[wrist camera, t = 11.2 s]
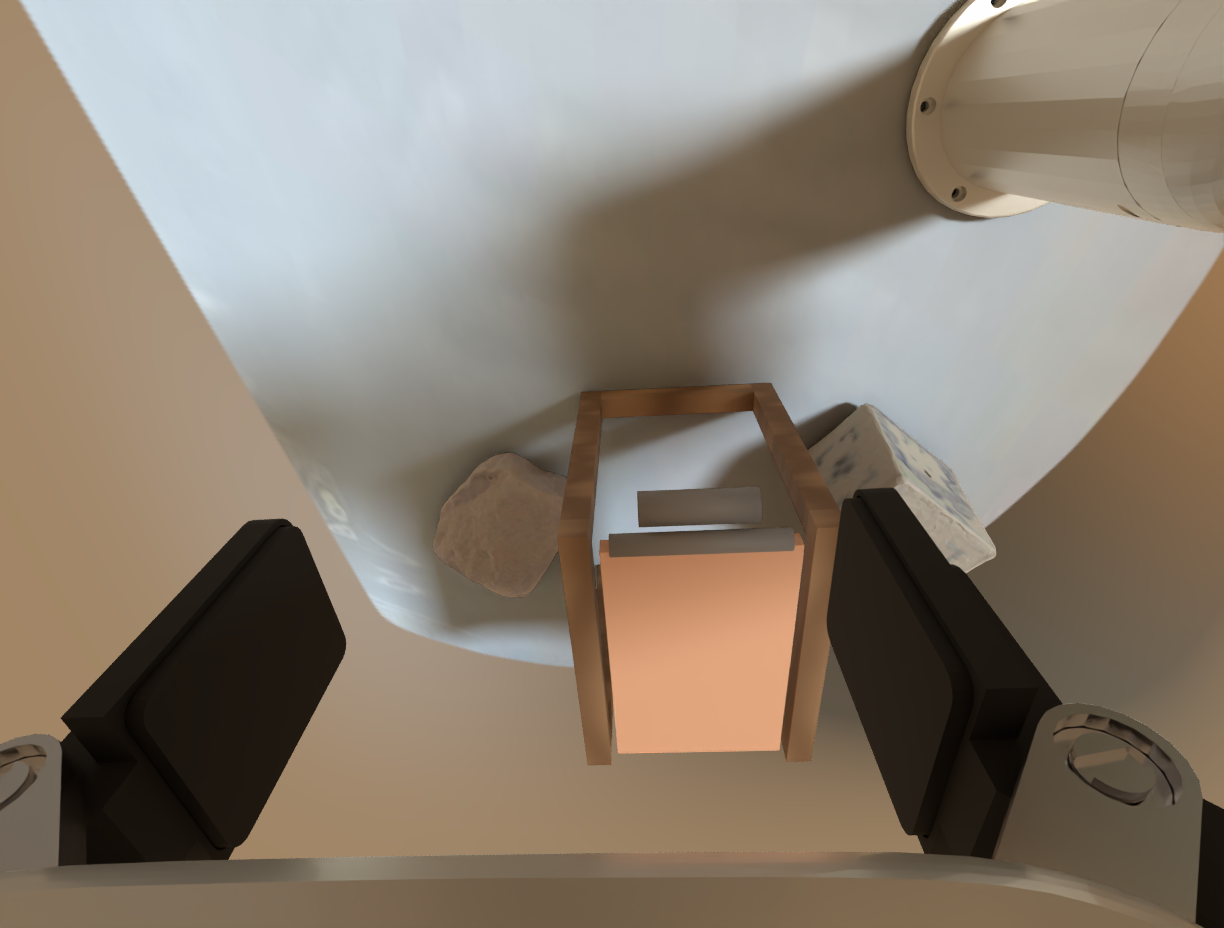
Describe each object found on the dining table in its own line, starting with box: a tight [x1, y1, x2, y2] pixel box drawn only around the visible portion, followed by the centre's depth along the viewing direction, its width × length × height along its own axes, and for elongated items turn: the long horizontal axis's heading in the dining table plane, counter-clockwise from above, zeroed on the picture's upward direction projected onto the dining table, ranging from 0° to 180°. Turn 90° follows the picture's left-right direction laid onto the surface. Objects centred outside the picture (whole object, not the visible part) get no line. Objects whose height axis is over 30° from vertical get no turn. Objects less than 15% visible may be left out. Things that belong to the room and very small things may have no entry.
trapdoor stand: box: [557, 383, 841, 765], centre depth 41 cm, size 14×18×18 cm
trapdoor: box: [599, 486, 805, 753], centre depth 34 cm, size 10×18×3 cm, turn 4°
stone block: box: [433, 452, 567, 598], centre depth 49 cm, size 12×5×10 cm
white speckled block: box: [808, 403, 996, 573], centre depth 43 cm, size 10×8×10 cm
